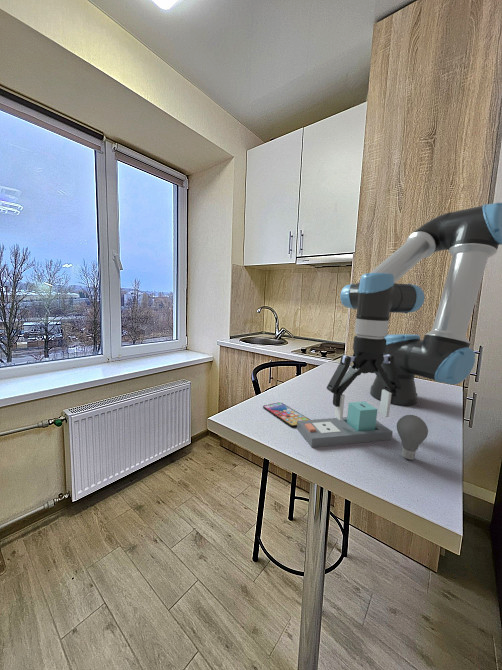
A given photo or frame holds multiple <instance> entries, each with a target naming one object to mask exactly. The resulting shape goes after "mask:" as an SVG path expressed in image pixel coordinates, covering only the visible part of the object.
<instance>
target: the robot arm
mask: <svg viewBox="0 0 502 670" xmlns="http://www.w3.org/2000/svg"><path fill="white" fill-rule="evenodd" d="M499 246H502V202H494V203H484V204H483V205H479V206H474V207H469V208H466V209H465V208H464V209H461V210H455V211H451V212H450V211H449V212H446V213H443V214H441V215H438V216H436V217H434V218H432V219H430V220H428V221H427V222H426V223H424V224H422V225H421V226H420V227H419V228H418V227H417V229H416V230H414V231H413V232H412V233H411V234H410V235H409V236H408V237H407V239H406V242H405V243H403V245H401V246H400V247H399V248H397V249H396V251H394V252H393V253H392V254H390V255H389V256H388V257H387V258H386V259H384V261H382V262H381V263H380V264H379V265H378V266H376V267H375V268H374V269H373V270H371V271H370V272H367V273H363V274H362V275H361V276H360V280H359V282H357V283H351V284H346V285H344V286H343V288H342V289H341V291H340V296H339V297H340V302H341V305H342V306H344V307H345V308H348V309H353V310H356V316H355V324H354V325H355V327H354V334H355V335H354V336H353V344H352V349H353V353H352V355H346V354H342V355H341V357H340V361H339V364H338V366H337V368H336V369H335V370H334V371H335V372H334V373H333V375H332V376H331V378H330V380H329V382H328V384H327V386H326V390H327V391H329V392H330V393H332V394H333V396H332V405H333V406H334V411H333V413H334V414H333V416H334V418H337V419H339V420H342V419H343V417H344V408H345V398H346V397H345V394H343V393H344V392H345V391H346V390H347V388H349V386H351V384H352V383H353V381H355V380H356V378H357V377H358V376H361V374H368V373H370V374H375V378H374V380H373V383H372V384H371V386H370V388H369V389H370V391H369V393H370V396H372V397H373V398H374V399H376V400H379V401H380V402H379V403H380V404H379V410H378V412H379V414H380V415H383V416H385V417H386V418H388V417H390V408H391V404H392V405H398V406H413V405H416V404H417V403H418V392H417V388H416V383H415V382H416V381H415V377H416V376H418V377H422V378H425V379H427V380H430V381H434V382H437V383H439V384H440V383H441V384H442V383H444V384H447V385H451V386H453V385H454V386H455V385H457V384H461V383H462V382H463V381H464V380H466V379H467V378H468V377H469V375H470V374H471V372H472V370H473V368H474V366H475V362H476V352H475V351H474V350H473V349H472V348H471V347H470V346H471V342H470V340H469V339H468V338H467V336H466V335H467V332H468V328H469V325H470V321H471V318H472V314H473V312H474V308H475V304H476V301H477V297H478V293H479V291H480V288H481V284H482V281H483V277H484V275H485V274H484V273H485V270H486V266H487V263H488V260H489V258H491V257H492V256H494V255H495V254H497V252H498V248H499ZM443 251H448V253H449V254H450V255H451V256H452V258H451V261H450V265H449V268H448V272H447V275H446V279H445V283H444V286H443V290H442V293H441V297H440V300H439V304H438V308H437V311H436V315H435V319H434V320H433V325H432V328H431V330H430V331H428V332H427V333H425V334H424V337H423V340H422V339H421V335H419V334H414V333H413V334H411V333H410V334H409V333H402V334H401V333H399V334H396V333H391V334H388V332H389V324H390V313H396V314H397V313H400V314H401V313H402V314H408V313H414V312H416V311H418V310H421V308H422V306H423V305H424V303H425V300H426V299H425V293H424V290H423V289H422V288H421V287H420V286H418V285H415V284H412V283H397V282H398V281H399V280H400V279H402V277H404V275H406V274H407V273H408V272H409V271H410V270H411V269H413V268H414V267H415V266H416V265H417V264H418V263H419V262H420V261H421V260H423V259H427V258H429V257H431V256H432V255H433V254H434V253H437V252H443Z"/></svg>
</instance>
